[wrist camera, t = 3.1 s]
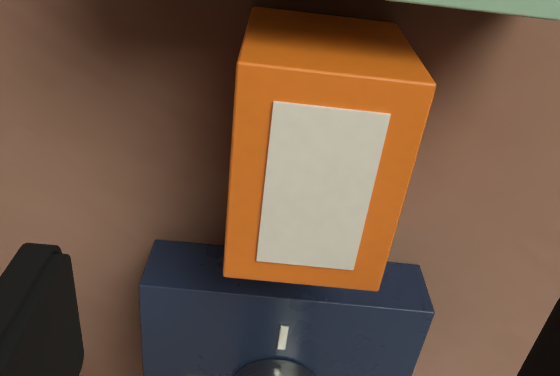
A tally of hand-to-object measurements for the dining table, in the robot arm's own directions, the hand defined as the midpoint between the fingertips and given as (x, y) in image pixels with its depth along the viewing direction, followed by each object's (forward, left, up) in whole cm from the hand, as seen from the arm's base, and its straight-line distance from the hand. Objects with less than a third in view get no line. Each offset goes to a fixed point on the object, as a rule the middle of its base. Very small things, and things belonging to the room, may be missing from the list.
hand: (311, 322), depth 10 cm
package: (0, 0, -11) cm, 11 cm away
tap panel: (0, +11, -11) cm, 16 cm away
